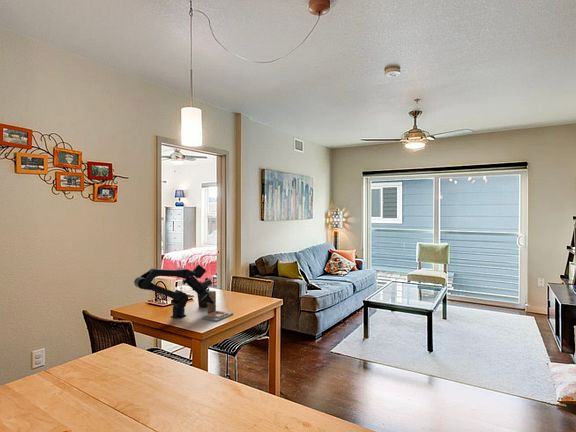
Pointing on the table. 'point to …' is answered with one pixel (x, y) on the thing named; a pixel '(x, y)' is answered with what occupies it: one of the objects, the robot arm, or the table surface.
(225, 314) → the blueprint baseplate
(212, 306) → the walnut post
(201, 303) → the coffee mug
